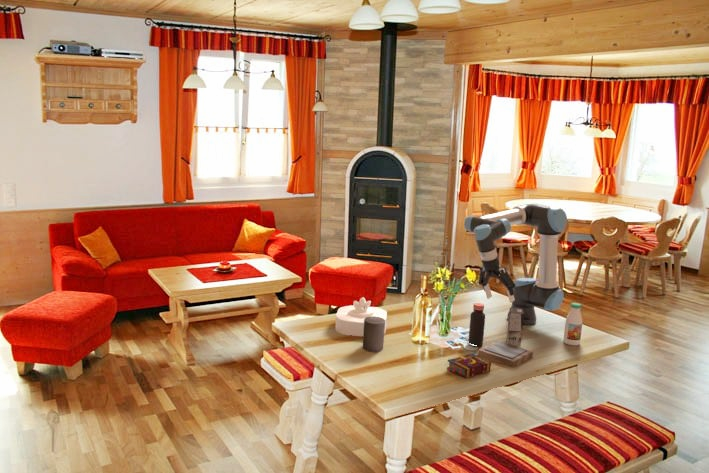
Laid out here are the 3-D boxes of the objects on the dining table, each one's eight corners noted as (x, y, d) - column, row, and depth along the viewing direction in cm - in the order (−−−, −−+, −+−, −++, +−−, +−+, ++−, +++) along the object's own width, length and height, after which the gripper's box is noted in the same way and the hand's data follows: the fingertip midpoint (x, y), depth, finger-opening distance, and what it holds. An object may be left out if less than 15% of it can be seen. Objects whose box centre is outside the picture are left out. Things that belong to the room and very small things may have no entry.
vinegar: (481, 348, 292) (485, 307, 288) (467, 345, 294) (470, 305, 290) (483, 343, 298) (486, 303, 294) (469, 341, 300) (472, 301, 296)
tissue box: (339, 317, 326) (340, 288, 323) (387, 321, 324) (388, 291, 321) (333, 334, 302) (334, 303, 298) (384, 338, 299) (386, 306, 296)
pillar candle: (359, 349, 284) (361, 318, 281) (366, 342, 293) (368, 312, 290) (379, 353, 281) (381, 322, 277) (386, 346, 290) (388, 315, 286)
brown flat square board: (497, 345, 296) (498, 339, 295) (532, 356, 284) (533, 350, 284) (477, 355, 283) (478, 348, 282) (513, 367, 271) (514, 360, 271)
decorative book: (490, 372, 266) (491, 361, 265) (463, 380, 257) (464, 368, 256) (472, 362, 275) (472, 352, 274) (444, 370, 266) (445, 359, 265)
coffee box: (520, 346, 296) (524, 314, 293) (507, 344, 298) (510, 312, 294) (519, 339, 305) (523, 308, 302) (506, 338, 306) (509, 306, 303)
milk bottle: (560, 342, 303) (565, 303, 299) (567, 338, 309) (571, 300, 305) (575, 347, 298) (580, 307, 294) (582, 343, 304) (587, 304, 300)
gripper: (464, 259, 291) (475, 299, 296) (505, 263, 270) (517, 306, 276) (474, 252, 295) (485, 292, 300) (516, 256, 274) (527, 299, 280)
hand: (500, 299), depth 288 cm, fingers open, 13 cm apart
